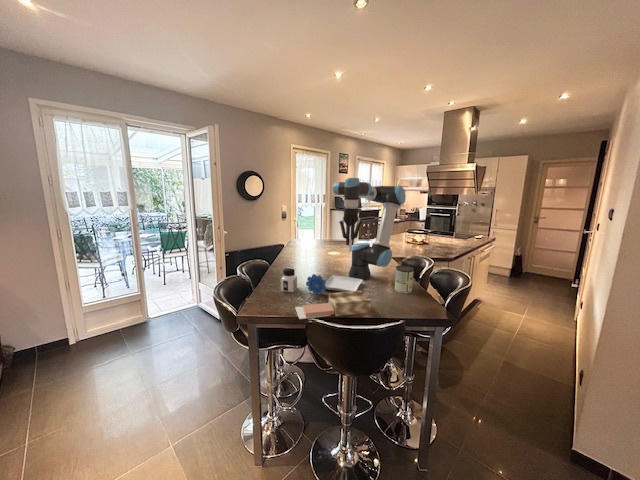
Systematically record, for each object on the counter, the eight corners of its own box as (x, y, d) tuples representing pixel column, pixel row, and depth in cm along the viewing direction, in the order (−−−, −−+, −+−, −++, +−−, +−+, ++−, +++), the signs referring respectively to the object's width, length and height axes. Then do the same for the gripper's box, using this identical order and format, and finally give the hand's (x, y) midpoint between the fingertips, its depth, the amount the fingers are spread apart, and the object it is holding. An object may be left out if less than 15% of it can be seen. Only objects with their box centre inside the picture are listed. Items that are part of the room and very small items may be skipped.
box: (360, 302, 141) (361, 290, 140) (370, 312, 130) (371, 299, 128) (328, 305, 136) (328, 293, 135) (335, 316, 125) (336, 303, 124)
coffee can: (395, 285, 165) (397, 264, 162) (412, 288, 161) (414, 266, 158) (392, 291, 156) (394, 268, 153) (411, 294, 152) (413, 271, 149)
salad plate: (355, 296, 149) (356, 290, 148) (320, 290, 156) (320, 285, 156) (363, 284, 168) (363, 278, 168) (331, 279, 176) (331, 274, 175)
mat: (323, 305, 137) (323, 304, 137) (330, 315, 125) (330, 315, 125) (295, 308, 133) (295, 307, 133) (299, 319, 122) (299, 318, 122)
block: (329, 306, 134) (329, 302, 134) (334, 314, 126) (334, 310, 126) (302, 308, 131) (302, 305, 131) (305, 317, 123) (305, 313, 123)
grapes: (306, 297, 146) (306, 277, 143) (305, 292, 152) (305, 273, 150) (327, 296, 148) (327, 276, 145) (325, 291, 154) (325, 272, 152)
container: (293, 292, 152) (293, 271, 150) (280, 291, 154) (280, 270, 151) (297, 287, 160) (297, 267, 157) (285, 286, 161) (284, 266, 159)
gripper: (359, 207, 144) (357, 248, 148) (337, 207, 140) (336, 249, 145) (365, 208, 137) (363, 252, 141) (341, 208, 133) (340, 253, 138)
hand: (349, 250), depth 143 cm, fingers closed
